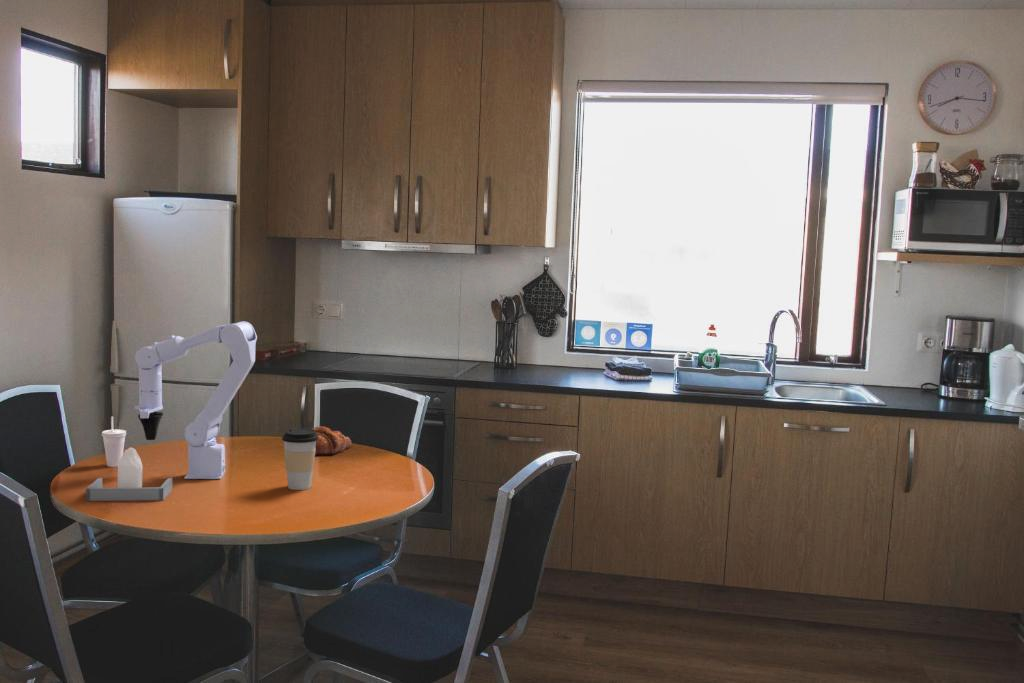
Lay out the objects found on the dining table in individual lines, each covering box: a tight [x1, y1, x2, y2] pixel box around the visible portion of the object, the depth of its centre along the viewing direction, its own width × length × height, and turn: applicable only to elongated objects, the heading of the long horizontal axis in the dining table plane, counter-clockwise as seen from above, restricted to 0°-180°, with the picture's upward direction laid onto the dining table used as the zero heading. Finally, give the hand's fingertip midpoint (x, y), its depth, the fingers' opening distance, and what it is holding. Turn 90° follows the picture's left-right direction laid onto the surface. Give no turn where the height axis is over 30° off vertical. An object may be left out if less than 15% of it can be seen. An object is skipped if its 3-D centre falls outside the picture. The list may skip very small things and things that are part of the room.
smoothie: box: [101, 416, 127, 468], centre depth 254 cm, size 6×6×14 cm
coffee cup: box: [281, 427, 319, 491], centre depth 239 cm, size 9×9×15 cm
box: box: [85, 477, 173, 502], centre depth 227 cm, size 18×10×3 cm, turn 98°
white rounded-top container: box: [117, 447, 143, 488], centre depth 228 cm, size 6×12×6 cm
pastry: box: [312, 425, 352, 457], centre depth 281 cm, size 17×15×8 cm
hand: (151, 439), depth 247 cm, fingers closed
